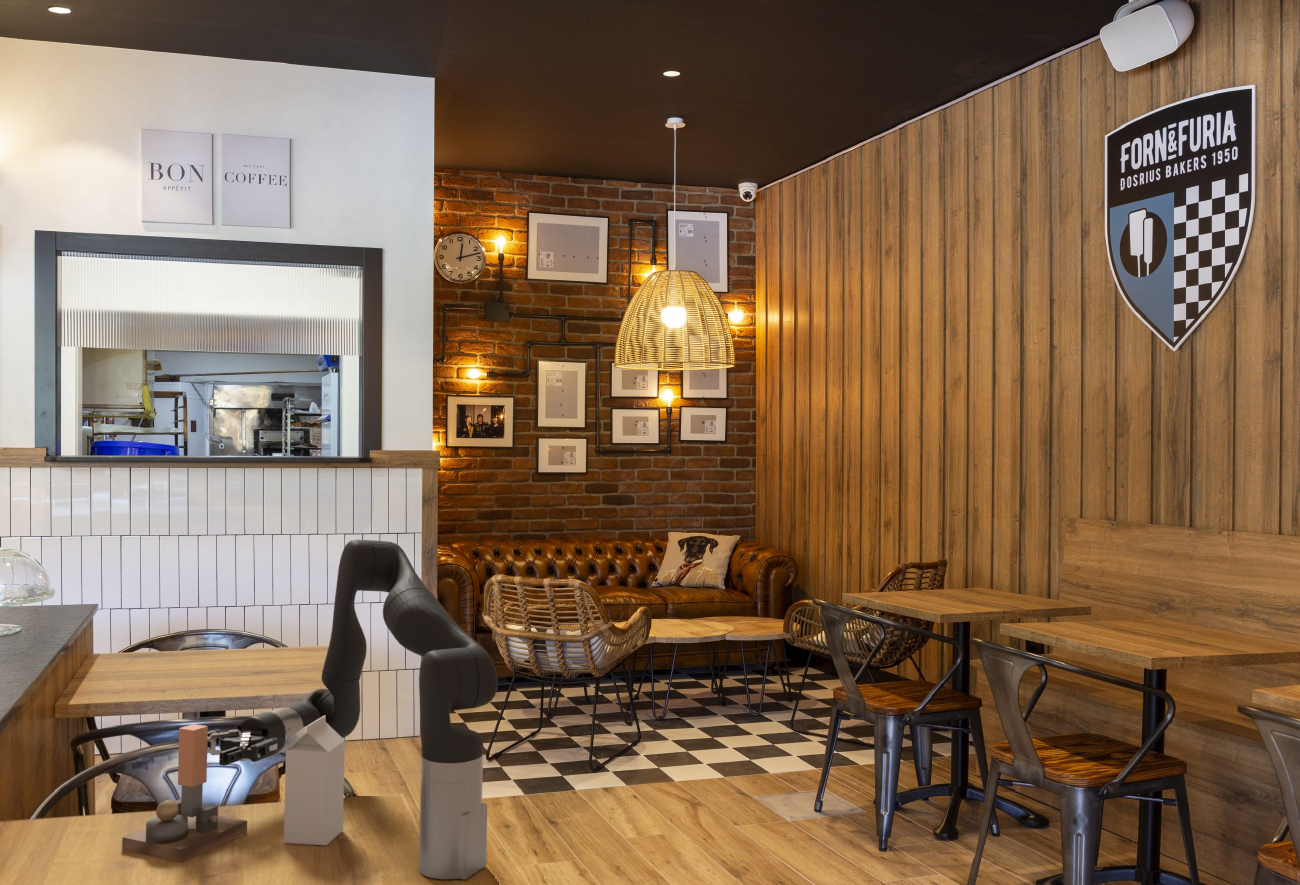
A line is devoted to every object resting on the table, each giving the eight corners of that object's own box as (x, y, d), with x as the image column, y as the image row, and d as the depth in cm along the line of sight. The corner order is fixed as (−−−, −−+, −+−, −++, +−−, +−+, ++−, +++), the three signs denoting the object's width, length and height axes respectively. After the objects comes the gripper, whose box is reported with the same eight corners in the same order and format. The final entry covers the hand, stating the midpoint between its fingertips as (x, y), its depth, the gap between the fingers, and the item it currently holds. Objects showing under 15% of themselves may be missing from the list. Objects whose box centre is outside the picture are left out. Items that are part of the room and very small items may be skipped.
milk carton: (343, 831, 180) (345, 716, 180) (326, 846, 173) (329, 727, 173) (301, 829, 181) (304, 714, 181) (283, 844, 174) (286, 725, 174)
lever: (205, 813, 176) (207, 726, 176) (191, 818, 173) (193, 730, 173) (191, 810, 177) (193, 724, 177) (177, 816, 174) (179, 728, 174)
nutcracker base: (247, 833, 178) (248, 786, 179) (181, 862, 166) (182, 811, 166) (190, 822, 183) (191, 776, 183) (122, 850, 170) (123, 800, 170)
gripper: (239, 707, 195) (167, 727, 179) (303, 716, 189) (235, 738, 174) (238, 749, 194) (166, 773, 179) (302, 759, 189) (234, 785, 174)
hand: (200, 756), depth 177 cm, fingers open, 8 cm apart
